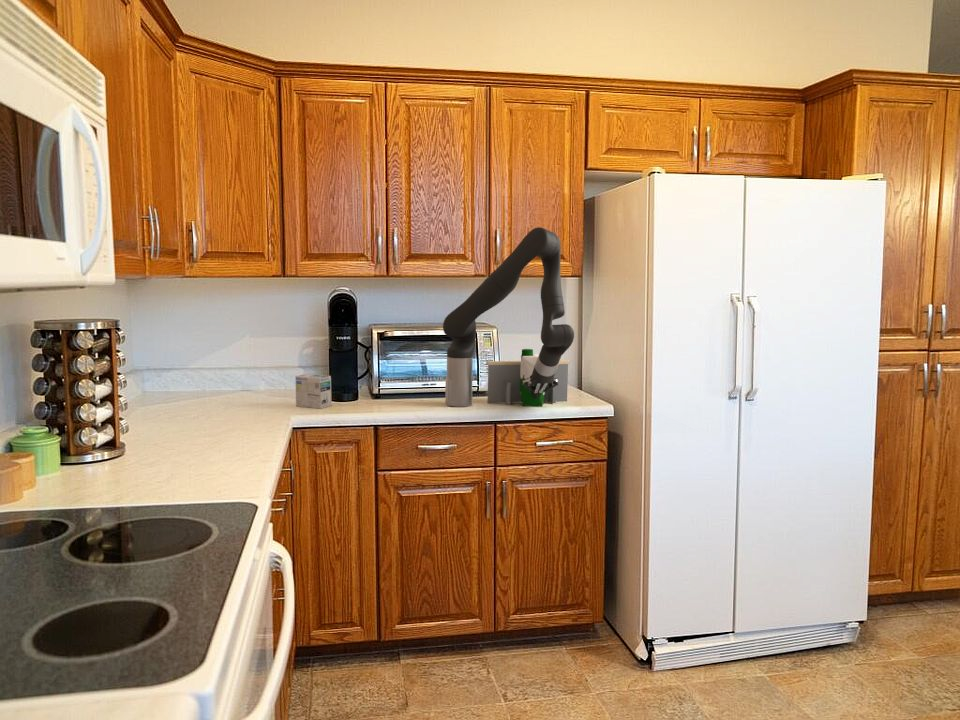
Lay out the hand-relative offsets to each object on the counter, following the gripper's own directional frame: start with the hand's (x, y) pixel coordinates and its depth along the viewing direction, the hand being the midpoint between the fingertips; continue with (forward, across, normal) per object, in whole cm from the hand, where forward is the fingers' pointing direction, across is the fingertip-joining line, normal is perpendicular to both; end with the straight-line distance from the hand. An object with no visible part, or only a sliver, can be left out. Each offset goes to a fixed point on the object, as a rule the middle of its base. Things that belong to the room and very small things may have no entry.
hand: (535, 396), depth 259 cm
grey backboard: (+8, 0, -3) cm, 9 cm away
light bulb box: (+11, +77, -5) cm, 78 cm away
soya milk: (+6, 0, 0) cm, 6 cm away
